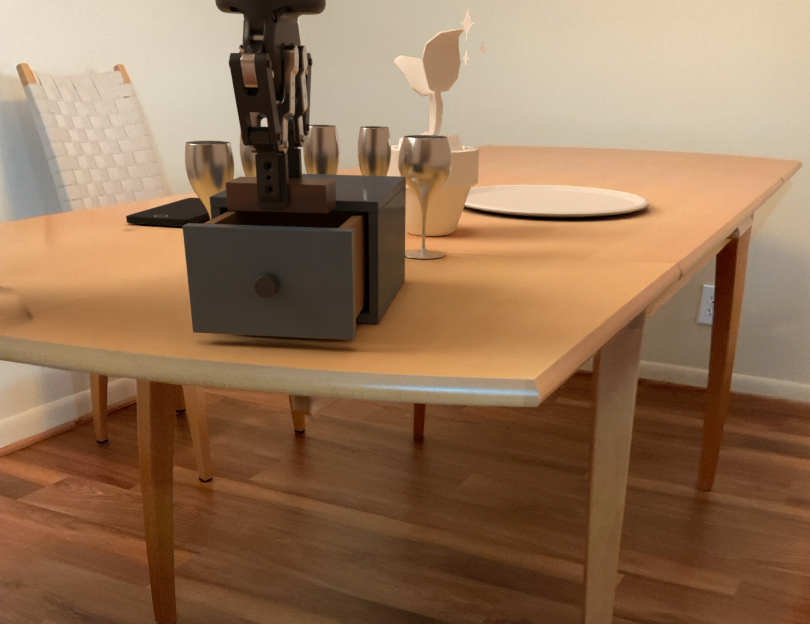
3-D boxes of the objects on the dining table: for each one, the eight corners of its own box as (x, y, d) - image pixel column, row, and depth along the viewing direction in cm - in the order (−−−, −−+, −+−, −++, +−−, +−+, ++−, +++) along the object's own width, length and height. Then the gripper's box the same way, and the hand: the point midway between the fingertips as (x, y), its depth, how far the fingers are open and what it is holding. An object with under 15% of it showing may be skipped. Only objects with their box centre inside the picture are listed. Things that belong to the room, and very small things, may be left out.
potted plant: (494, 236, 112) (506, 0, 100) (410, 243, 107) (413, -4, 96) (442, 221, 122) (448, 4, 110) (363, 227, 117) (361, 1, 105)
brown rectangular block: (326, 214, 67) (325, 185, 66) (227, 211, 68) (225, 182, 67) (336, 206, 70) (335, 179, 69) (241, 203, 71) (239, 176, 70)
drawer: (350, 344, 67) (348, 234, 63) (187, 337, 68) (176, 228, 65) (384, 292, 82) (384, 200, 78) (249, 287, 83) (243, 196, 79)
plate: (688, 208, 135) (689, 199, 134) (562, 229, 117) (563, 219, 117) (536, 187, 154) (537, 179, 153) (409, 203, 136) (409, 194, 136)
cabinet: (378, 324, 76) (378, 201, 71) (219, 317, 77) (209, 196, 73) (404, 280, 90) (405, 176, 86) (270, 275, 92) (264, 172, 87)
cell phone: (125, 223, 117) (124, 215, 116) (190, 204, 132) (189, 197, 132) (188, 227, 115) (187, 219, 114) (247, 206, 130) (246, 200, 130)
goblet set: (200, 275, 91) (186, 130, 85) (191, 264, 96) (177, 125, 90) (457, 258, 100) (462, 125, 94) (437, 248, 105) (440, 121, 99)
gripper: (243, -58, 67) (258, 191, 75) (175, -83, 55) (202, 218, 63) (343, -58, 66) (347, 193, 75) (297, -83, 54) (309, 221, 62)
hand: (281, 203), depth 69 cm, fingers closed on brown rectangular block, 3 cm apart
